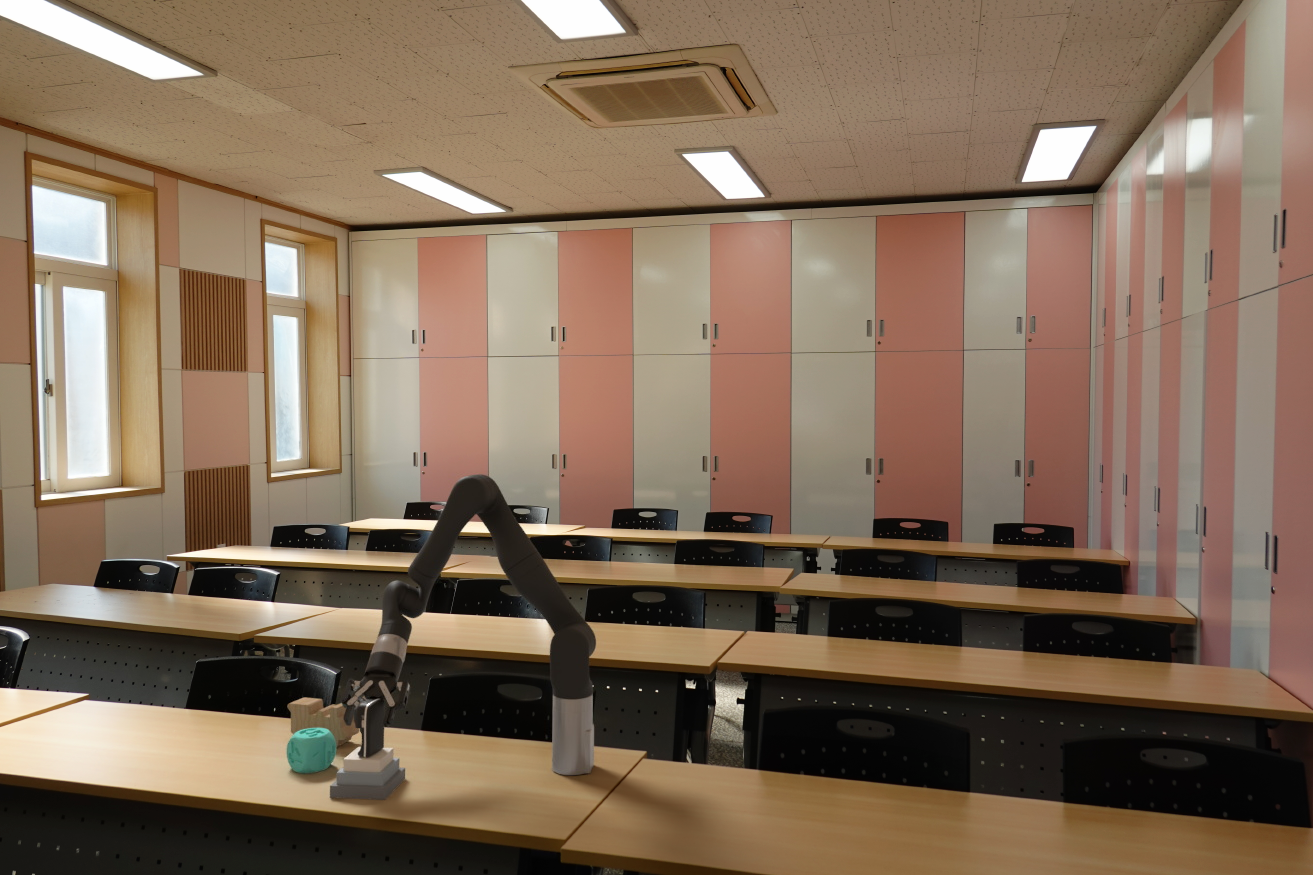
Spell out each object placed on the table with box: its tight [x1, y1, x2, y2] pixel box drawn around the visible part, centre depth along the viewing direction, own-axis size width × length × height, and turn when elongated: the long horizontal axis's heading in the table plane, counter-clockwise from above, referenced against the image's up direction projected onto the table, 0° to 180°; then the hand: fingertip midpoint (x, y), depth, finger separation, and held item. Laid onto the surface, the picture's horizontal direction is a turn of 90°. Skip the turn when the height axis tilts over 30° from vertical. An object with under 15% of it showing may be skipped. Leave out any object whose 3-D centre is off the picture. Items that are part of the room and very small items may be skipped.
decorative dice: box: [286, 728, 337, 774], centre depth 212 cm, size 8×8×8 cm
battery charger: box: [354, 698, 386, 757], centre depth 200 cm, size 7×4×11 cm, turn 167°
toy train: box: [287, 697, 360, 748], centre depth 229 cm, size 6×17×10 cm, turn 73°
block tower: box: [329, 746, 406, 801], centre depth 199 cm, size 12×12×8 cm
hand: (366, 724), depth 198 cm, fingers open, 8 cm apart
